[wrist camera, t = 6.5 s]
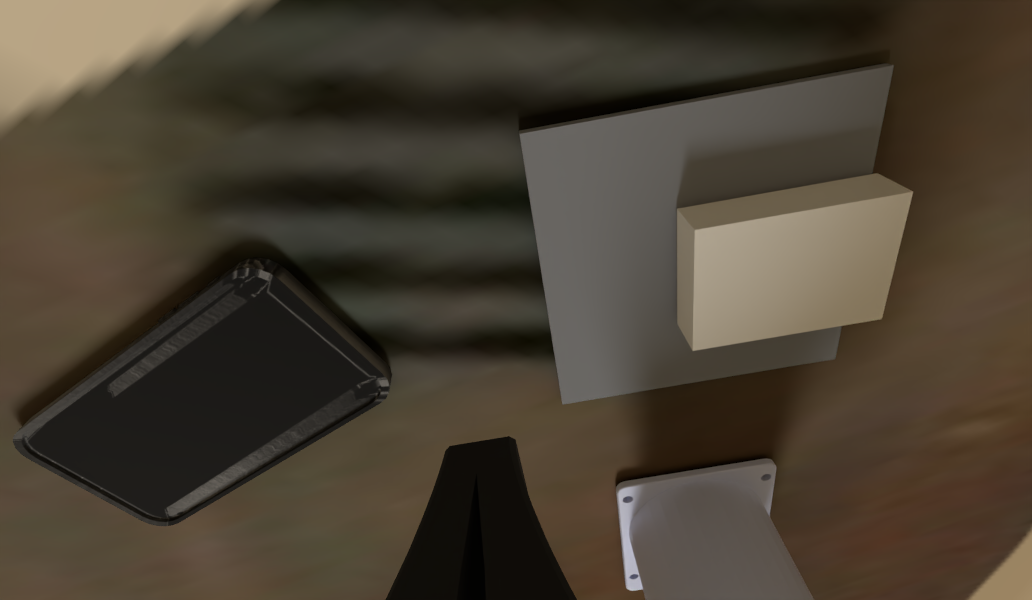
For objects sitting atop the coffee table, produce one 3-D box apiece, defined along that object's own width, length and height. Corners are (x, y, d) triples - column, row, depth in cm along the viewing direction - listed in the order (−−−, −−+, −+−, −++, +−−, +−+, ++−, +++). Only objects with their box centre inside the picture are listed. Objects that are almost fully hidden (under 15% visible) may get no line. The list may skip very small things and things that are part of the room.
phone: (401, 390, 22) (162, 532, 26) (404, 373, 23) (173, 512, 27) (251, 253, 19) (-3, 443, 22) (261, 239, 20) (16, 423, 23)
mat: (830, 353, 24) (835, 358, 23) (561, 398, 24) (562, 404, 24) (885, 63, 17) (893, 65, 17) (519, 130, 18) (519, 134, 17)
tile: (675, 320, 22) (849, 291, 21) (692, 351, 20) (881, 319, 20) (675, 206, 19) (873, 171, 19) (694, 230, 17) (912, 191, 17)
